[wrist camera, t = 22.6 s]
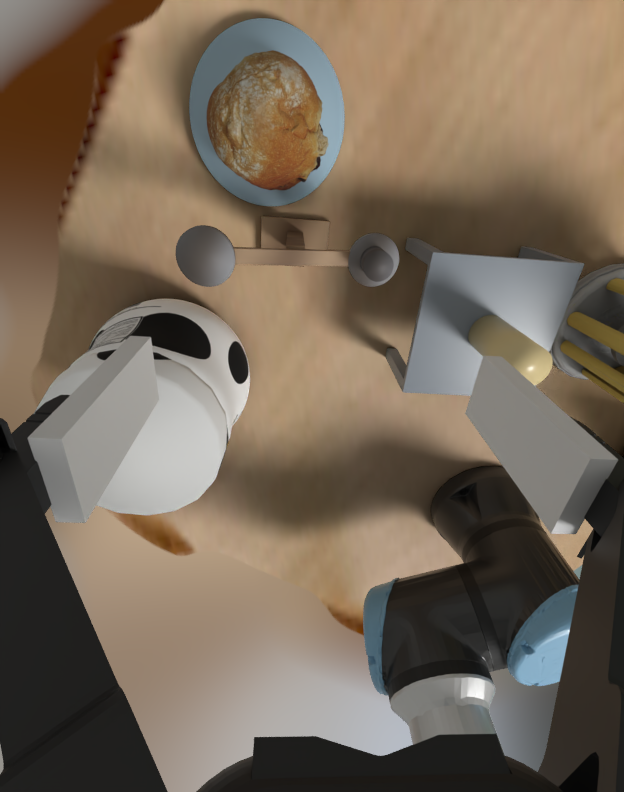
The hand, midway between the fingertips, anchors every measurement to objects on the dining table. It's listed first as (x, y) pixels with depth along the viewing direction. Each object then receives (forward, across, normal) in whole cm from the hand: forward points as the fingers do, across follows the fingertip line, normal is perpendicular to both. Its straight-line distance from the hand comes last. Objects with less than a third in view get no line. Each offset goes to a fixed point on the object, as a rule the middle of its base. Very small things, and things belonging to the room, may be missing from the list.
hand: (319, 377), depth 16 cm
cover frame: (+31, -18, +5) cm, 36 cm away
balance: (+31, +1, -1) cm, 31 cm away
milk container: (+31, +14, +14) cm, 37 cm away
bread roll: (+30, +4, -10) cm, 32 cm away
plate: (+31, +4, -11) cm, 33 cm away
